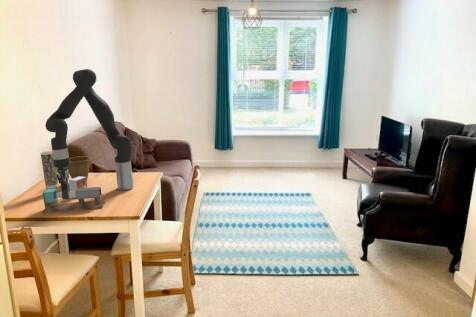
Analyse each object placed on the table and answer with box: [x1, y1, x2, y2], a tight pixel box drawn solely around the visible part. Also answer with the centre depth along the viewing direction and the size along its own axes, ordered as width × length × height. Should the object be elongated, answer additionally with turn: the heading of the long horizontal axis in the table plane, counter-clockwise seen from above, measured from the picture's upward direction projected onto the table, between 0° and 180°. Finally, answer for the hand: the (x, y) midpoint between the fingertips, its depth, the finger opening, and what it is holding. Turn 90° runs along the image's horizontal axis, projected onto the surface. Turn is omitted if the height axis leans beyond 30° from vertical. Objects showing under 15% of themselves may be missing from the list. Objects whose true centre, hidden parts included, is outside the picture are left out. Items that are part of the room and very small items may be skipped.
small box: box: [68, 176, 88, 191], centre depth 206 cm, size 8×6×10 cm
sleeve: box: [75, 186, 102, 200], centre depth 188 cm, size 12×5×5 cm, turn 100°
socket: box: [42, 188, 59, 204], centre depth 185 cm, size 5×6×6 cm
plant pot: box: [67, 155, 91, 181], centre depth 230 cm, size 15×15×16 cm
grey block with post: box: [56, 179, 76, 201], centre depth 186 cm, size 19×4×10 cm, turn 100°
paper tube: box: [40, 150, 60, 192], centre depth 209 cm, size 7×7×25 cm
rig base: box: [42, 197, 106, 214], centre depth 188 cm, size 29×10×6 cm, turn 100°
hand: (65, 188), depth 185 cm, fingers closed on grey block with post, 3 cm apart
